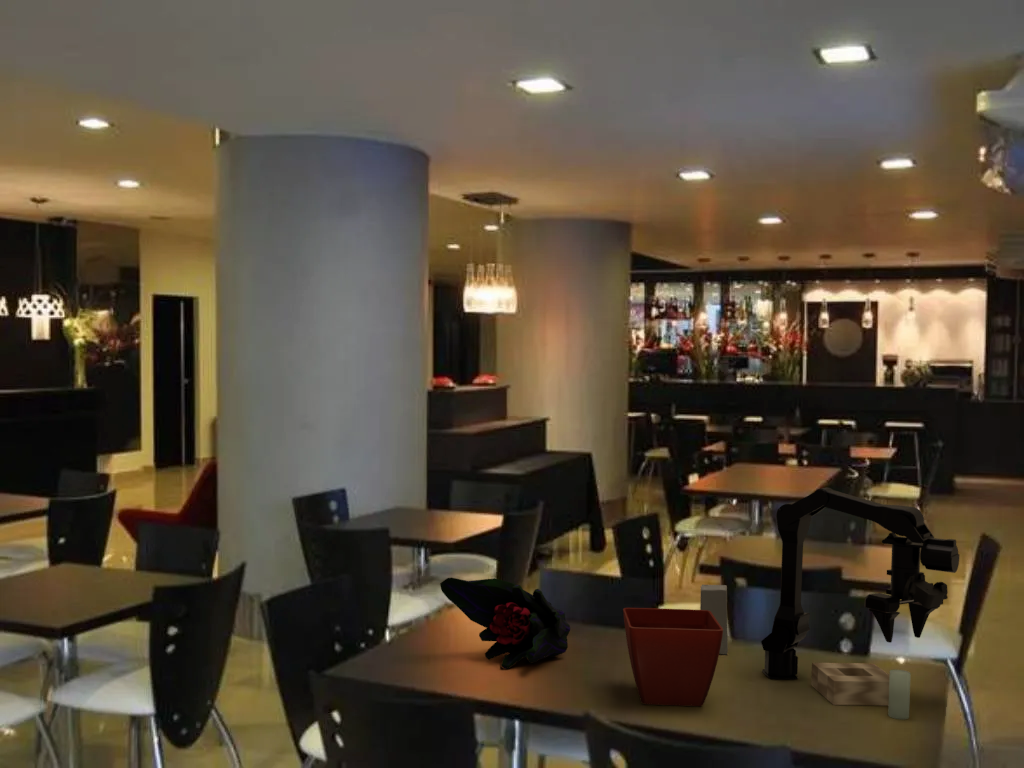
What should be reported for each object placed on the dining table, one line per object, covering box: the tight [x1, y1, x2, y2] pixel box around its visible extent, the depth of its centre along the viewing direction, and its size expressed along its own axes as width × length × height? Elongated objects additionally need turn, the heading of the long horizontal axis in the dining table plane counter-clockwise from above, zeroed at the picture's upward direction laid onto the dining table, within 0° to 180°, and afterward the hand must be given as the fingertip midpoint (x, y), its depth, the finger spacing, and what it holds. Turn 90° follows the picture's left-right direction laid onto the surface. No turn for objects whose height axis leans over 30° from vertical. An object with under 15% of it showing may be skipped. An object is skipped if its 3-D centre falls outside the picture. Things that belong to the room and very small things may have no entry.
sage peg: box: [887, 668, 912, 720], centre depth 223 cm, size 4×4×9 cm
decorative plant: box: [439, 577, 571, 670], centre depth 254 cm, size 21×26×30 cm
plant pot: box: [622, 607, 723, 707], centre depth 231 cm, size 19×19×17 cm
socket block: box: [810, 662, 890, 706], centre depth 237 cm, size 14×14×5 cm
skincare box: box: [699, 584, 729, 655], centre depth 271 cm, size 8×7×16 cm
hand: (903, 639), depth 233 cm, fingers open, 9 cm apart
